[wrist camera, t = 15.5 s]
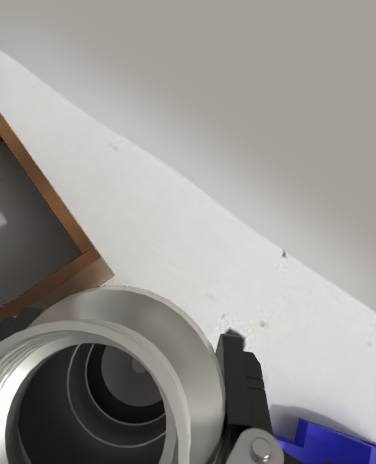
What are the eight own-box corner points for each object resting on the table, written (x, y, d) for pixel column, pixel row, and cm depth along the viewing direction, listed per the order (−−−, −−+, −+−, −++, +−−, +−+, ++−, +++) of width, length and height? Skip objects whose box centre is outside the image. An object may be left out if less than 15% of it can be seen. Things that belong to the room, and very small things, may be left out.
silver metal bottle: (136, 296, 25) (59, 156, 6) (208, 359, 24) (374, 420, 5) (71, 369, 23) (-313, 484, 4) (146, 440, 22) (60, 976, 3)
